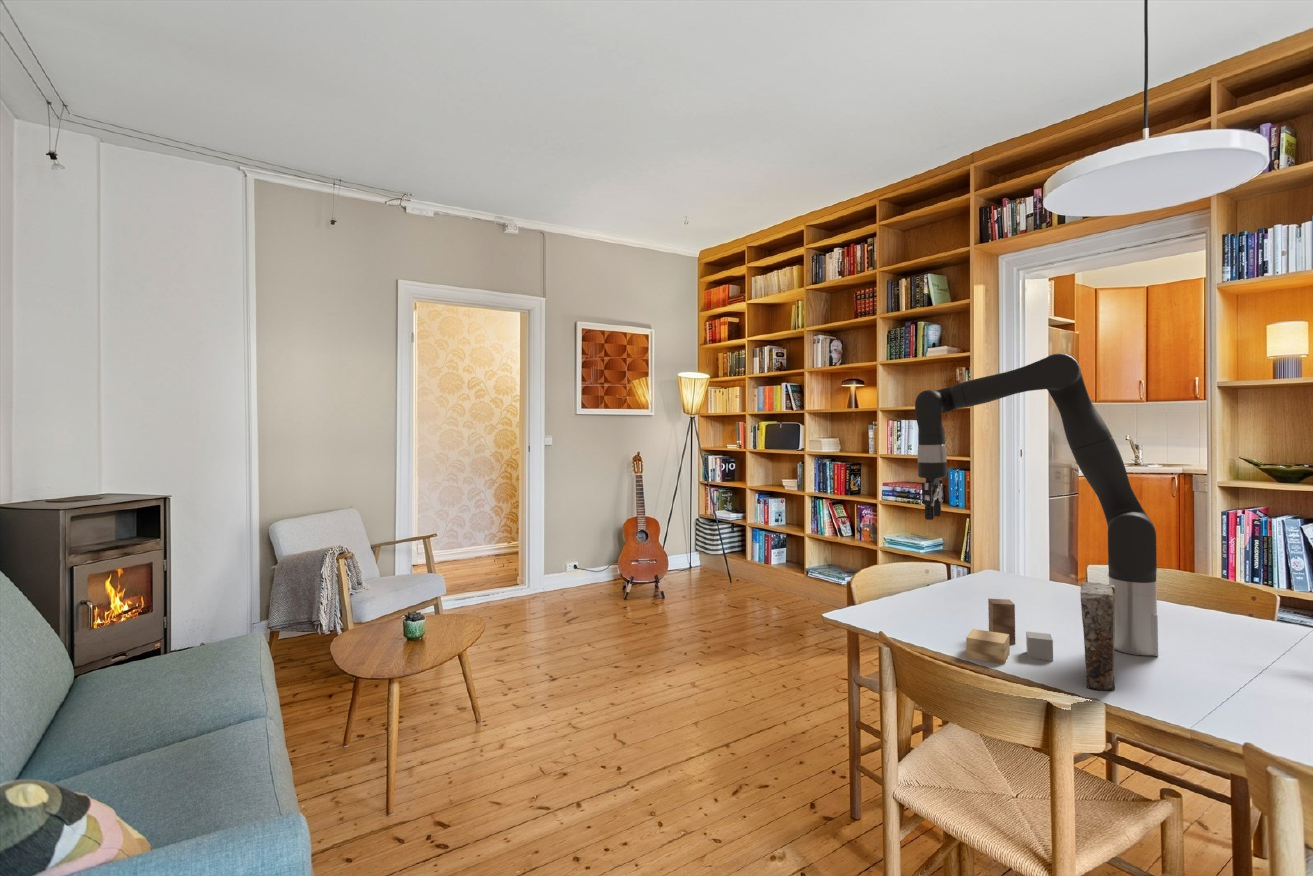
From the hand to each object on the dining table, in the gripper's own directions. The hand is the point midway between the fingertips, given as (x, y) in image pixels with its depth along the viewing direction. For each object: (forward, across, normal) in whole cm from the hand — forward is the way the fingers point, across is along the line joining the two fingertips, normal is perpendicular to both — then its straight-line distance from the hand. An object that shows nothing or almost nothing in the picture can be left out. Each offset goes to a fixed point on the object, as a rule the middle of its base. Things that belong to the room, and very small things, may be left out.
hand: (933, 517), depth 180 cm
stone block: (+30, -27, -39) cm, 56 cm away
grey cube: (+29, -17, -27) cm, 43 cm away
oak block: (+30, -23, -17) cm, 41 cm away
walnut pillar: (+29, -9, -18) cm, 35 cm away
